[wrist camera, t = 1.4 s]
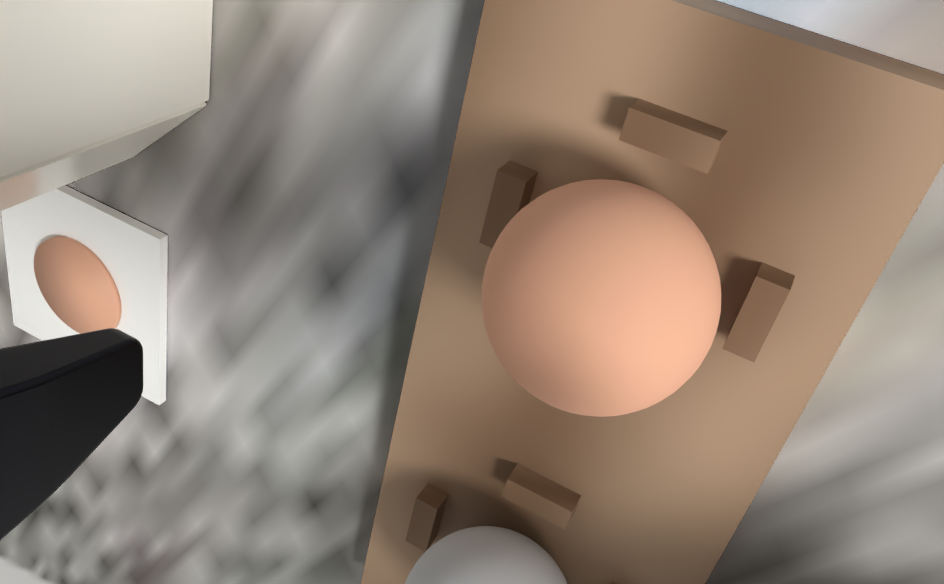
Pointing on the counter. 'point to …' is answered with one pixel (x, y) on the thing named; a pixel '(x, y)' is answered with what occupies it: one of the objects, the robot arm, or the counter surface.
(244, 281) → the counter surface
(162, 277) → the tile
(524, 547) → the ball grey
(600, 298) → the ball terracotta
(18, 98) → the cup
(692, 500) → the stand
